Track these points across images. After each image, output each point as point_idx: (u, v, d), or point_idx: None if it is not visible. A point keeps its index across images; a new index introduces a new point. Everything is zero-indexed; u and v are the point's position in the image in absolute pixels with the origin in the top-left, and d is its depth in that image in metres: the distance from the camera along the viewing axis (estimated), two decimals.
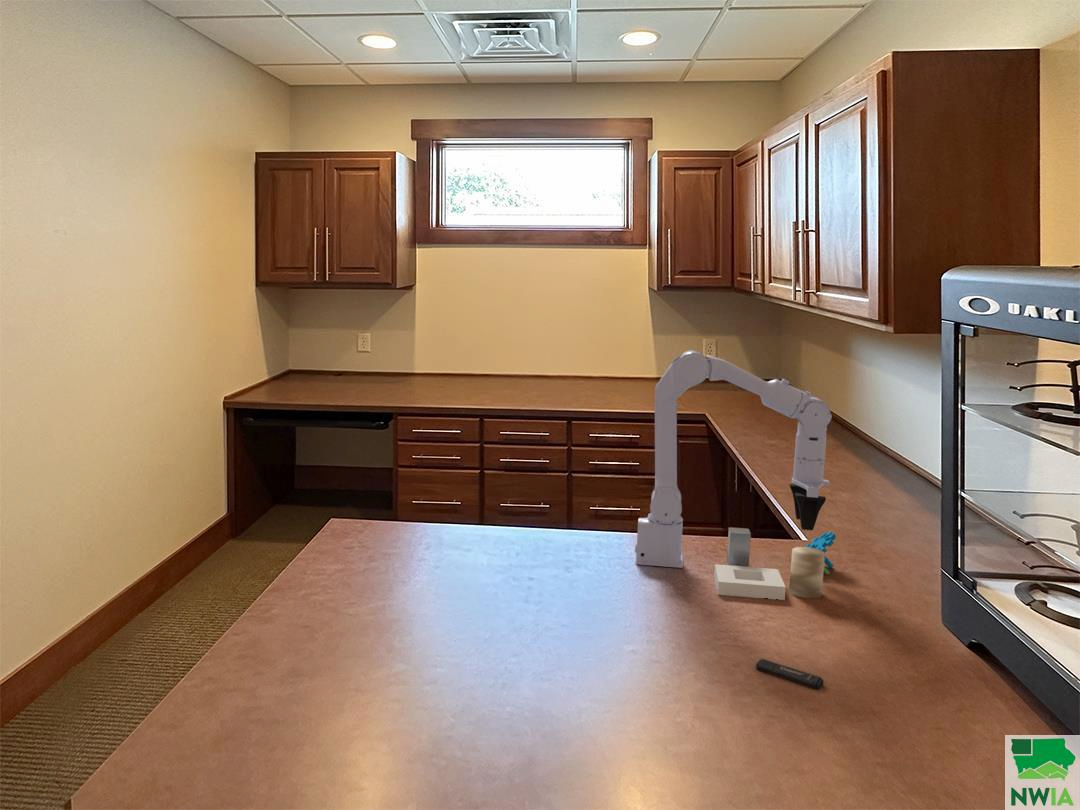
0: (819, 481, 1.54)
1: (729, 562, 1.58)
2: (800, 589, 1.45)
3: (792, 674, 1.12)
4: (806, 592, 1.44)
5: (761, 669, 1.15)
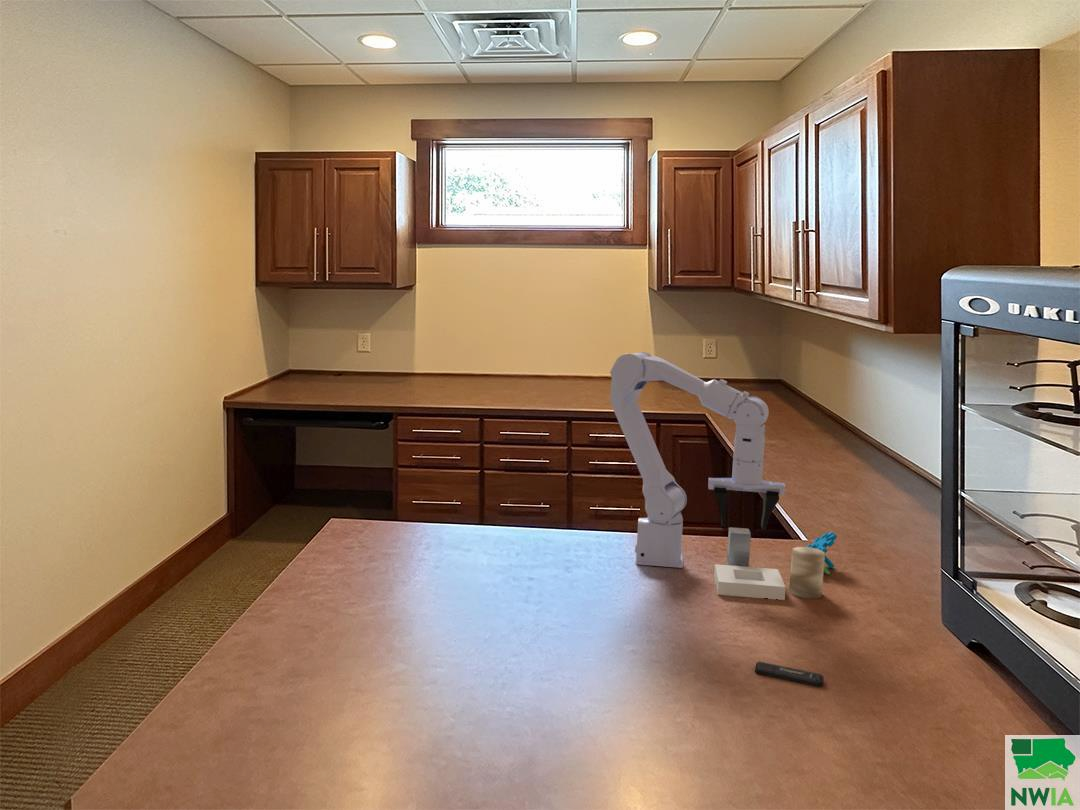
0: (736, 481, 1.52)
1: (729, 562, 1.58)
2: (800, 589, 1.45)
3: (794, 674, 1.12)
4: (806, 592, 1.44)
5: (761, 672, 1.13)
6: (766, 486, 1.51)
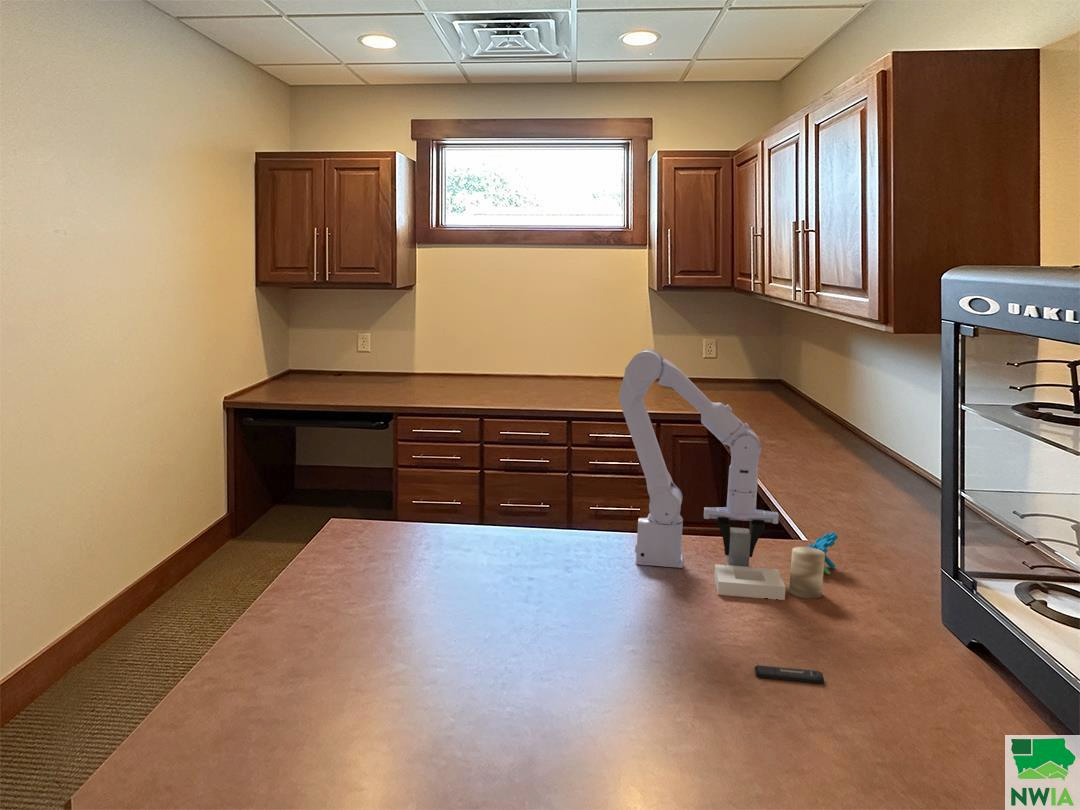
0: (731, 511, 1.57)
1: (729, 562, 1.58)
2: (800, 589, 1.45)
3: (795, 674, 1.12)
4: (806, 592, 1.44)
5: (763, 676, 1.12)
6: (760, 516, 1.56)
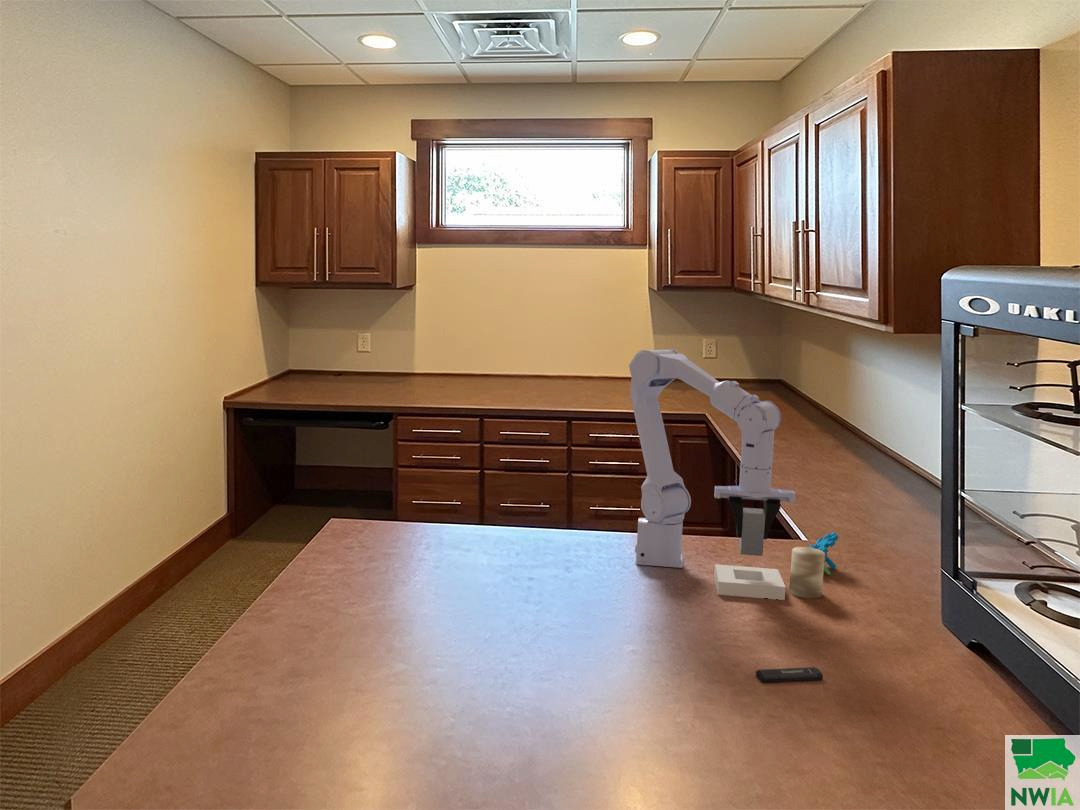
0: (744, 489, 1.45)
1: (742, 544, 1.47)
2: (800, 589, 1.45)
3: (797, 674, 1.12)
4: (806, 592, 1.44)
5: (769, 680, 1.11)
6: (775, 494, 1.44)
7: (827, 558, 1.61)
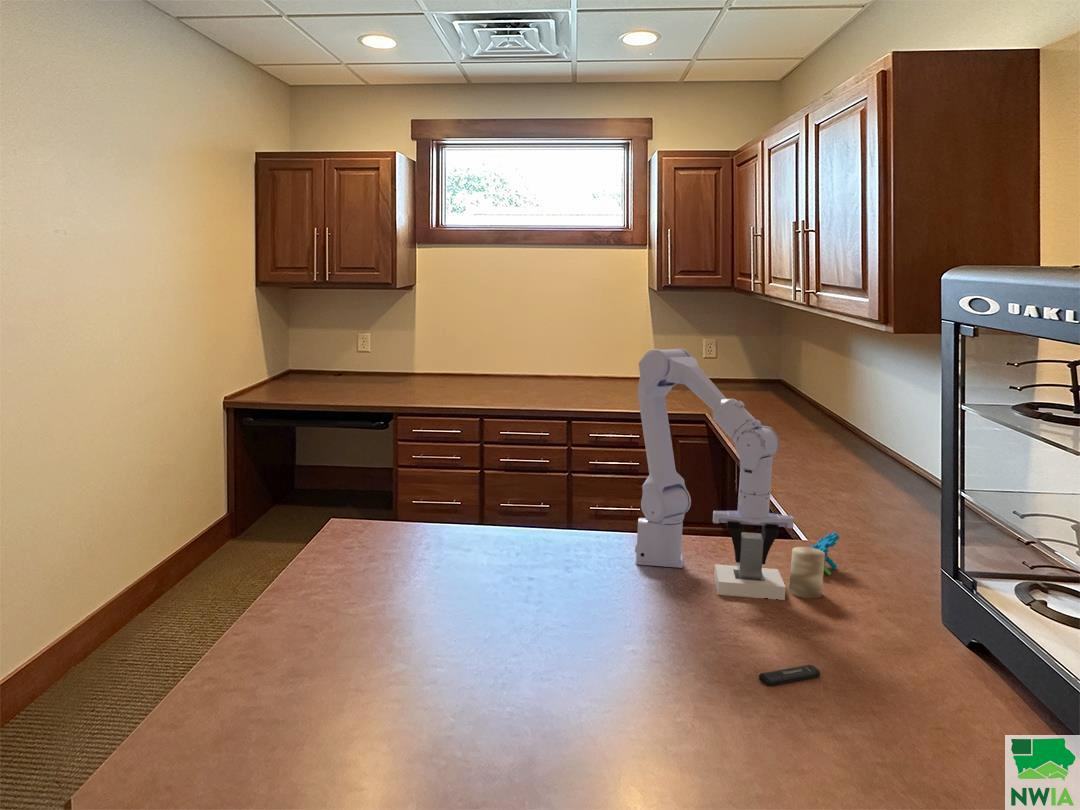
0: (742, 515, 1.46)
1: (740, 569, 1.47)
2: (800, 589, 1.45)
3: (798, 673, 1.12)
4: (806, 592, 1.44)
5: (774, 683, 1.10)
6: (774, 520, 1.45)
7: (828, 558, 1.61)
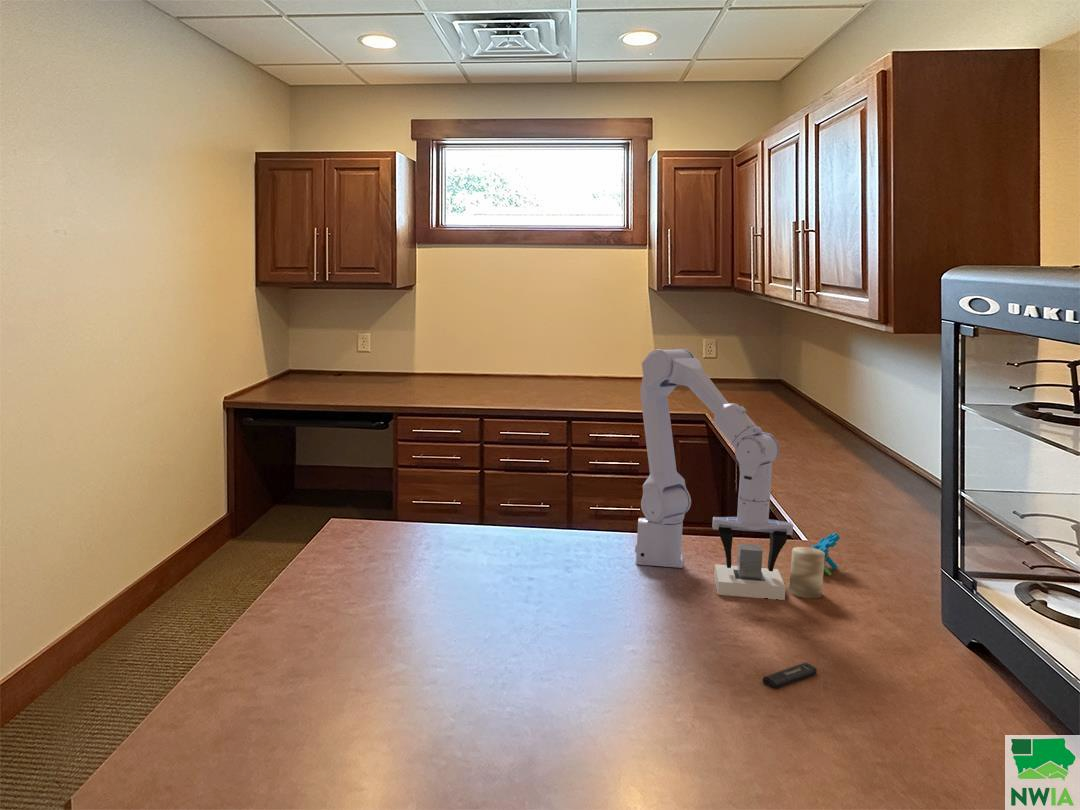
0: (742, 521, 1.46)
1: None
2: (800, 589, 1.45)
3: (798, 673, 1.12)
4: (806, 592, 1.44)
5: (779, 685, 1.10)
6: (773, 526, 1.45)
7: (828, 558, 1.61)
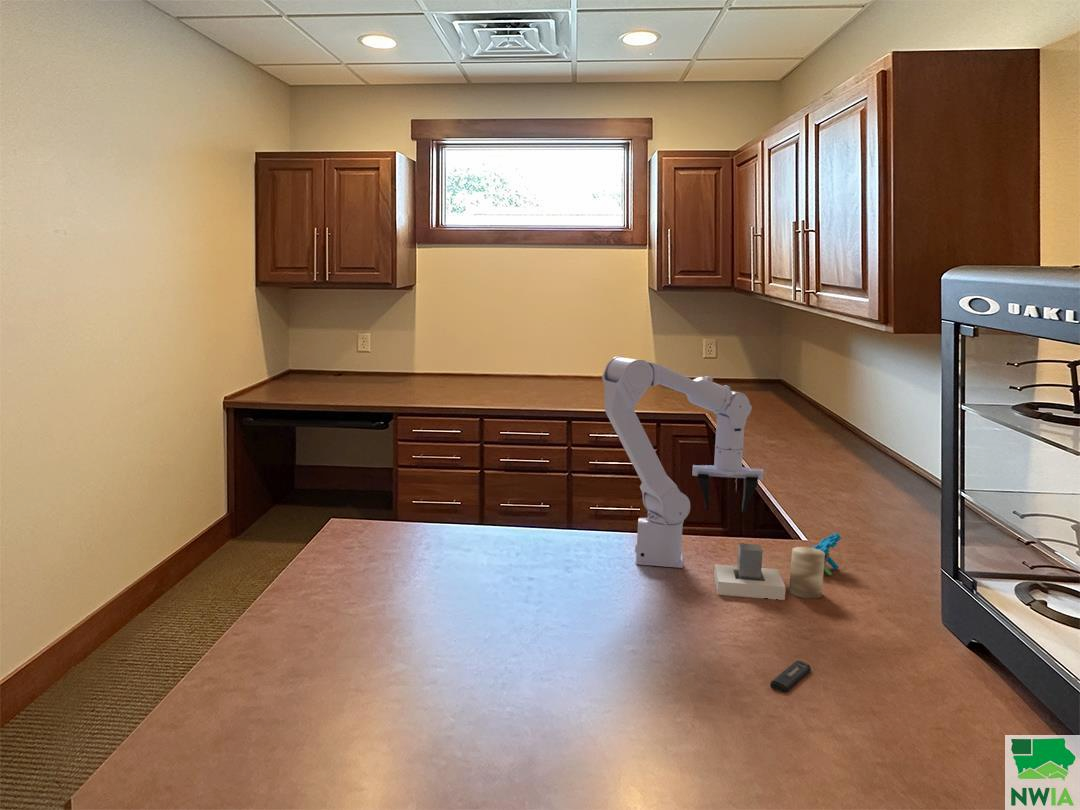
0: (718, 468, 1.64)
1: None
2: (800, 589, 1.45)
3: (798, 672, 1.13)
4: (806, 592, 1.44)
5: (789, 688, 1.09)
6: (746, 472, 1.63)
7: (829, 559, 1.61)
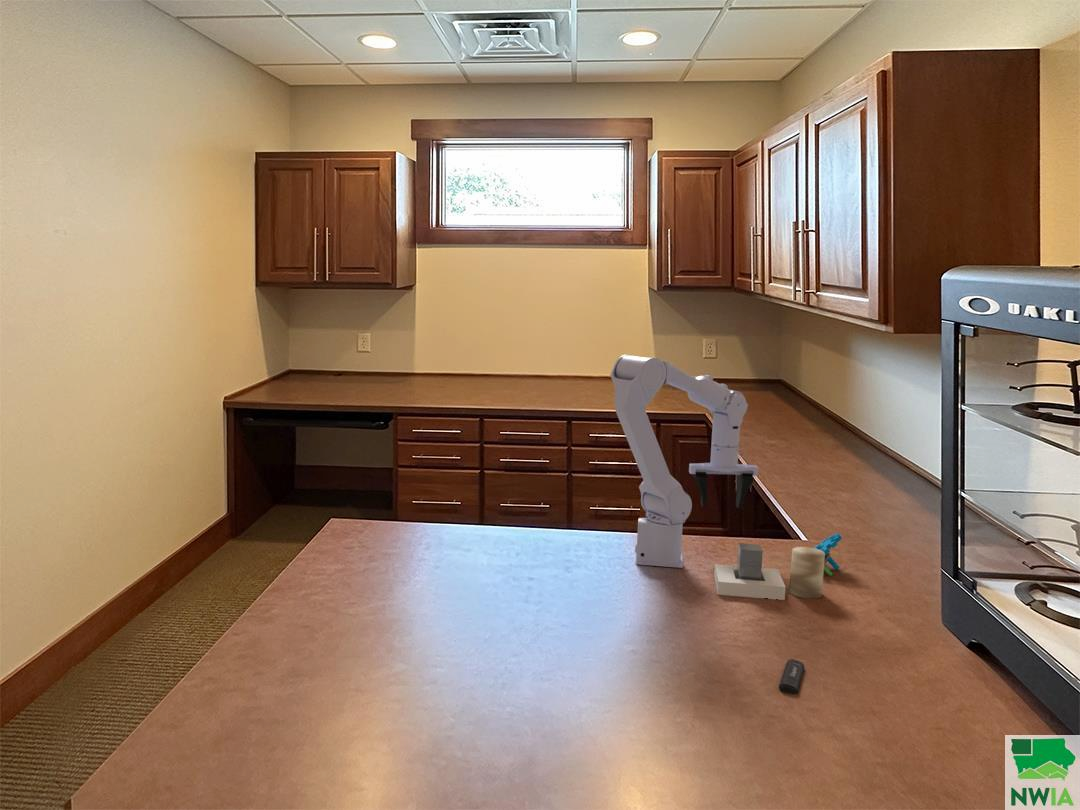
0: (716, 465, 1.67)
1: None
2: (800, 589, 1.45)
3: (798, 672, 1.13)
4: (806, 592, 1.44)
5: (798, 689, 1.09)
6: (742, 468, 1.67)
7: (830, 559, 1.61)
